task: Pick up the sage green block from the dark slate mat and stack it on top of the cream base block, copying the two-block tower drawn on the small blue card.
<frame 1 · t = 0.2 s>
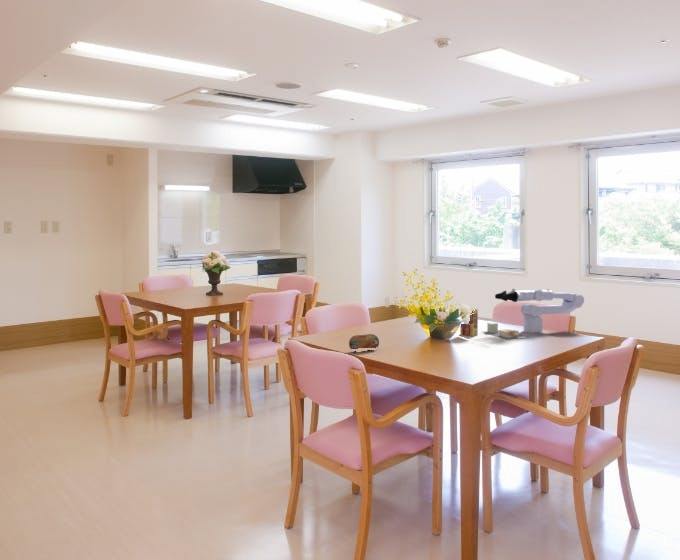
hand: (499, 296, 319), 21 cm above the table, tool horizontal, fingers open, 7 cm apart
tin: (364, 351, 293), on the table
slate mat: (504, 336, 319), on the table
candy box: (469, 337, 321), on the table
sage block: (492, 332, 327), point 1 cm above the table, touching slate mat
cream base block: (509, 335, 315), resting on slate mat
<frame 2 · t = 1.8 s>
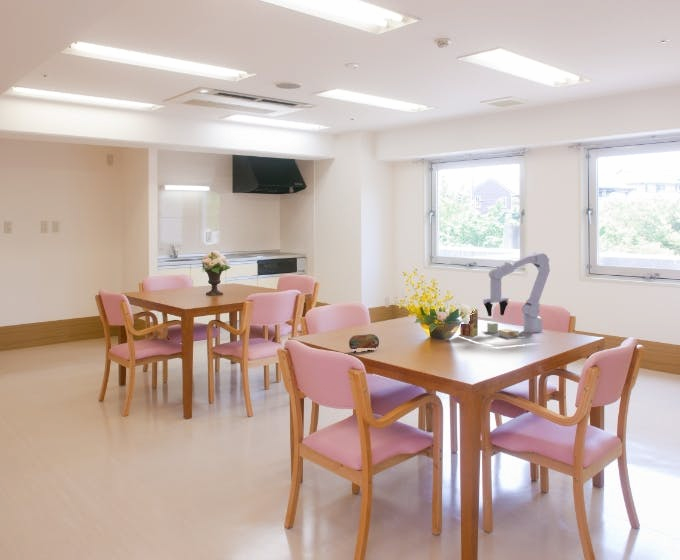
hand: (495, 315, 324), 10 cm above the table, tool pointing down, fingers open, 7 cm apart
nothing on the table moved.
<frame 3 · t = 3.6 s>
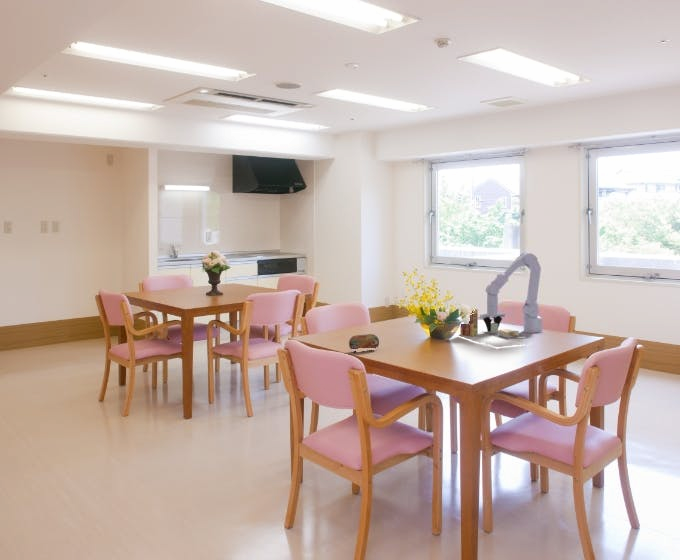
hand: (492, 330, 326), 2 cm above the table, tool pointing down, fingers closed on sage block, 4 cm apart
sage block: (492, 332, 327), point 1 cm above the table, touching gripper, slate mat
everything else where it was.
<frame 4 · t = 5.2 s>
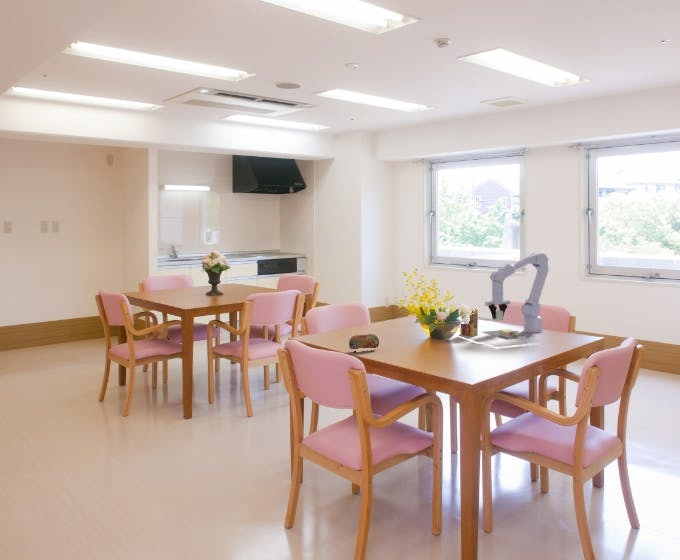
hand: (497, 318, 322), 9 cm above the table, tool pointing down, fingers closed on sage block, 4 cm apart
sage block: (497, 319, 322), point 8 cm above the table, touching gripper
everything else where it was.
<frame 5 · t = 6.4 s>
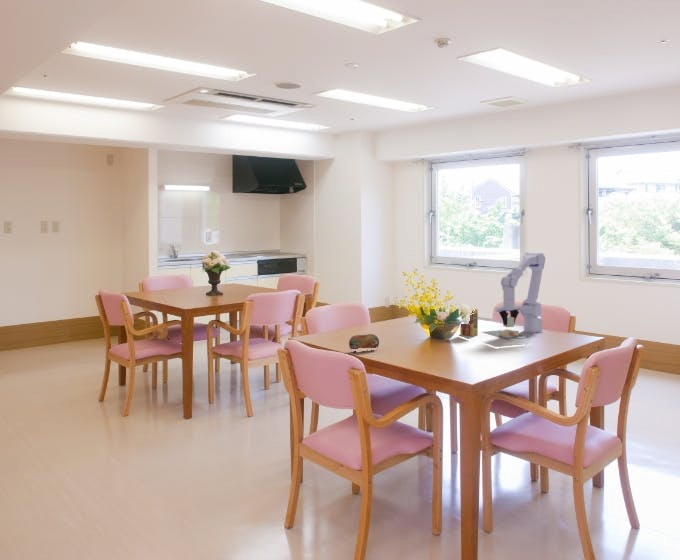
hand: (509, 324, 314), 7 cm above the table, tool pointing down, fingers closed on sage block, 4 cm apart
sage block: (508, 326, 315), point 6 cm above the table, touching gripper
everything else where it was.
when the fingers open (6 cm above the table, at t = 7.0 s): sage block drops 1 cm, resting on cream base block.
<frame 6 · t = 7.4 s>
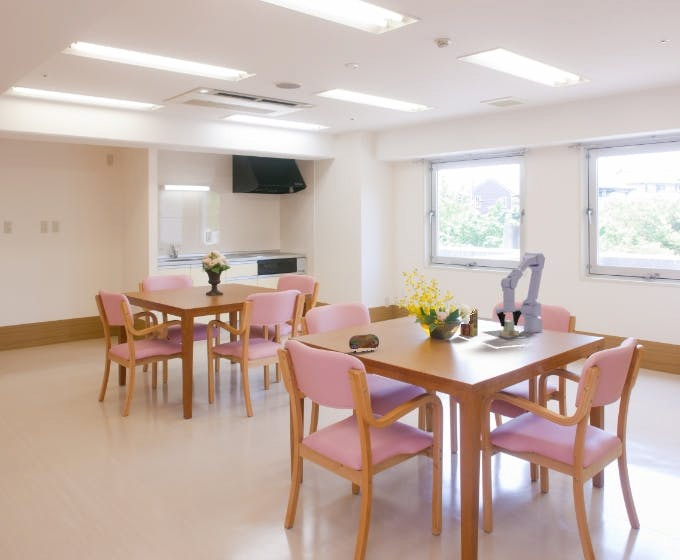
hand: (509, 325, 314), 6 cm above the table, tool pointing down, fingers open, 7 cm apart
sage block: (508, 330, 315), point 4 cm above the table, touching cream base block
everything else where it was.
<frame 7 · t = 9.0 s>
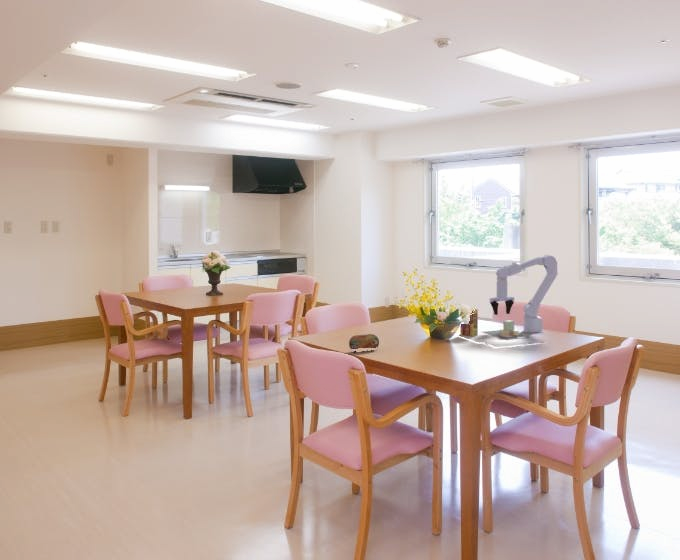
hand: (501, 314, 328), 10 cm above the table, tool pointing down, fingers open, 7 cm apart
nothing on the table moved.
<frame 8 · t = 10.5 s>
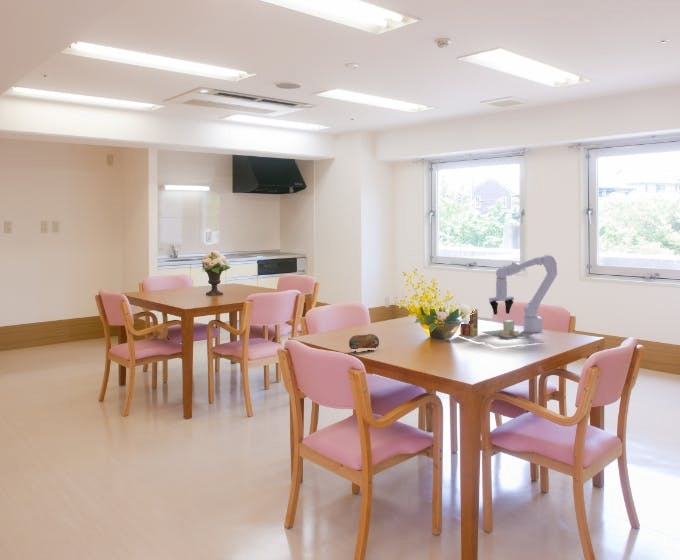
hand: (501, 313, 330), 10 cm above the table, tool pointing down, fingers open, 7 cm apart
nothing on the table moved.
at the end: sage block 0.2 cm from the cream base block (horizontally); sage block point 4.0 cm above the table; sage block tilted 0° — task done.
